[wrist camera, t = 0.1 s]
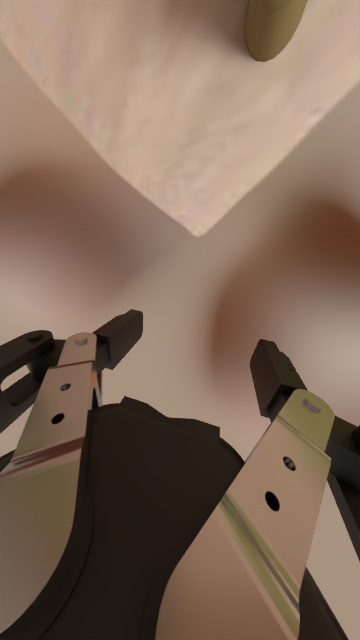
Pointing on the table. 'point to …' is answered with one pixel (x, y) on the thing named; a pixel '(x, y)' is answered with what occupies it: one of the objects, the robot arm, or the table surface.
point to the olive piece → (271, 26)
